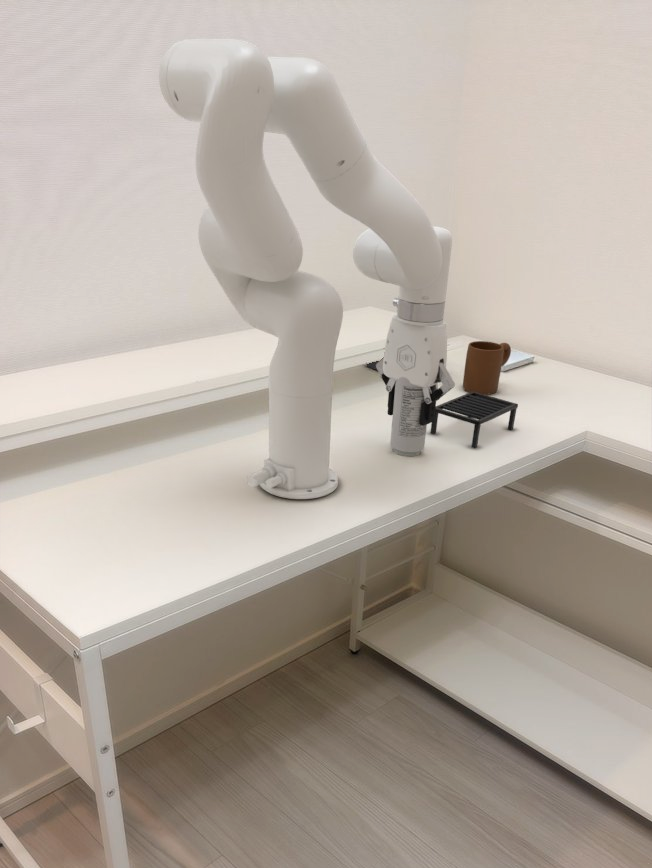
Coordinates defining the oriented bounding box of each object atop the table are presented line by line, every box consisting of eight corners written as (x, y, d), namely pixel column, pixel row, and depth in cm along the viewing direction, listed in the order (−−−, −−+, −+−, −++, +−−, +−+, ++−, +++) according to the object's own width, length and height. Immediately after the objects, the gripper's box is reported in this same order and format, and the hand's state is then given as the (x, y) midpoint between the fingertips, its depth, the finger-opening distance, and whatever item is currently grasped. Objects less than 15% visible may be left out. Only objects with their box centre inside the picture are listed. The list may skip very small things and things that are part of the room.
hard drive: (506, 348, 196) (476, 356, 189) (534, 355, 192) (505, 364, 184) (505, 355, 197) (475, 363, 190) (533, 362, 193) (504, 371, 185)
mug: (491, 378, 180) (497, 336, 175) (517, 388, 175) (525, 344, 170) (454, 387, 173) (460, 343, 168) (481, 397, 168) (488, 352, 163)
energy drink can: (419, 444, 145) (428, 361, 137) (426, 457, 140) (436, 371, 132) (387, 444, 144) (394, 360, 136) (392, 457, 139) (400, 371, 131)
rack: (475, 448, 144) (479, 421, 142) (429, 433, 149) (432, 407, 147) (513, 429, 154) (518, 403, 151) (469, 415, 159) (473, 391, 156)
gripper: (364, 304, 131) (357, 410, 141) (452, 325, 122) (439, 437, 132) (391, 297, 136) (383, 401, 146) (478, 317, 127) (463, 426, 137)
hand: (410, 417), depth 139 cm, fingers closed on energy drink can, 6 cm apart
